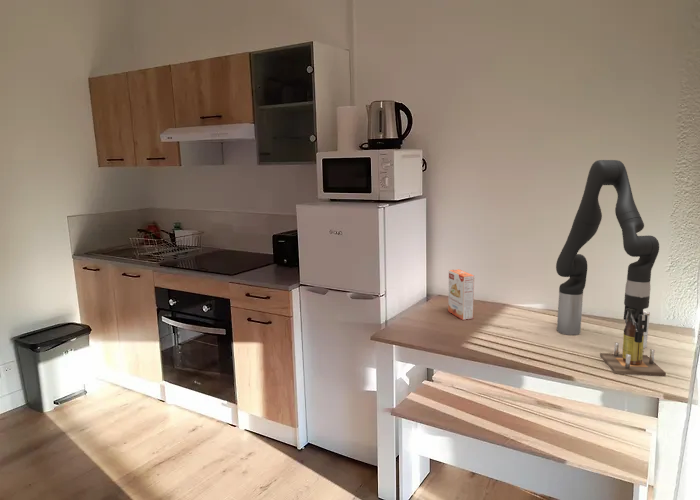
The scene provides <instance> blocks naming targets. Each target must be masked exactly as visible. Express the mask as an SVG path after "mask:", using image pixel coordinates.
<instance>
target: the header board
mask: <svg viewBox="0 0 700 500" xmlns="http://www.w3.org/2000/svg"><path fill="white" fill-rule="evenodd" d="M599 357H600V358H601V359H602V360H603V362H605V364H606V365H607V367H608V368H609V369H610V370H611V371H612V372H613V374H614V375H630V376H632V375H633V376H635V375H636V376H650V377H651V376H652V377H653V376H654V377H666V375H667V372H665V371H664V370H663V369H662V367H660V366H659V365H658V364H657V363H656V362H655V361H654V364H649V357H650V356H649V355H647V354H643V359H642V363H641V364H639V365H632V364H630V369H625V362H624V361H623V353H618V357H615V356H614V353H609V352H608V353H605V352H602V353H601V352H600V353H599Z"/></svg>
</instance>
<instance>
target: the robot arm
mask: <svg viewBox="0 0 700 500" xmlns="http://www.w3.org/2000/svg"><path fill="white" fill-rule="evenodd" d="M603 186H613V187H614V189H615V191H616V193H617V197H616V198H617V200H616V204H615V210H614V212H615V213H614V214H615V216H616V219H617V222H618V225H619V227H620V228H621V232H622V233H621V235H622V242H623V243H622V244H623V250H624V251H625V253H626V254H627V255H628V256H630V257H634V258H638V260H637V261H636V260H635V261H634V262H631V263H629V265H628V267H627V275H626V282H625V290H624V291H625V292H624V298H623V299H624V300H623V301H624V302H623V304H624V312H623V321H624V323H625V325H626V324H627V321H628V316H629V312H628V308H629V307H630V308H633V309H634V310H635V314H632V313H631V318H632V323H633V326H635V339H634V341H635V342H637V343H641V342H642V337H643V332H647V317H648V316H647V315H644V313H643V311H644V310H645V309H648V308H649V307H650V298H651V297H650V296H651V278H652V277H651V276H652V269H653V268H654V265H655V262H656V259H657V257H658V256H659V255H658V254H659V252H660V243H659V240H658V239H657V238H656V237H655V236H654V235H638V234H637V233H641V231H643V229H644V227H645V223H644V221H643V219H642V216H641V214H640V212H639V210H638V207H637V205H636V203H635V200H634V195H633V191H632V188H631V184H630V179H629V175H628V171H627V168H626V166H625V164H624V163H623V162H622V161H620V160H618V159H599V160H595V161H594V162H593V163H592V165H591V166H590V168H589V172H588V176H587V179H586V183H585V187H584V191H583V195H582V198H581V201H580V204H579V207H578V210H577V212H576V213H575V216H574V219H573V222H572V226H571V229H570V230H569V233H568V236H567V239H566V241H565V243H564V245H563V247H562V249H561V251H560V253H559V255H558V258H557V260H556V265H555V269H556V273H557V275H558V276H559V277H563V278H568V279H567V280H566V281H564V282H563V283H561V284H560V285H559V289H558V307H557V322H556V332H557V333H560V334H562V335H568V336H578V335H581V332H582V331H581V328H582V316H583V315H582V313H583V299H584V289H585V288H586V285H587V284H586V283H587V274H588V260H587V258H586V257H585V256H584V255H583V254H578V252H579V251H580V250H581V249H582V248H583V247H584V246H585V245H586V244H587V243H588V242H589V241H590V240H591V239H592V238H593V237H594V236H595V235H596V234H597V232H598V230H599V228H600V227H599V226H600V225H601V222H602V220H603V219H602V218H603V213H602V209H601V205H600V203H599V195H600V192H601V191H602V190H601V189H602V187H603ZM636 322H638V323H636ZM643 325H644V326H643ZM637 326H638V327H637Z"/></svg>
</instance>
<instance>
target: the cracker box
mask: <svg viewBox="0 0 700 500" xmlns="http://www.w3.org/2000/svg"><path fill="white" fill-rule="evenodd" d="M447 295H448V297H447V298H448V304H447V305H448V308H447V309H448V313H450V314H451V313H452V314H451V315H453V316H455V317H456V318H458V319H460V320H462V321H466V319H468V320H474V302H475V301H474V299H475V298H474V296H475V275H473V274H472V273H469V272H466V271H464V270H462V269H449V270H448V294H447Z"/></svg>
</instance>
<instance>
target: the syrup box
mask: <svg viewBox="0 0 700 500" xmlns="http://www.w3.org/2000/svg"><path fill="white" fill-rule="evenodd" d="M643 313H644V315H647V316H648V317H647V332H644V333H643V334H644V340H643V349H646V348H647V344H648V335H649V324H650V318H651V317H650V316H651V315H650V314H651V313H650V312H649V311H646V310H643ZM643 326H644V325H643ZM645 347H646V348H645Z"/></svg>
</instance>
